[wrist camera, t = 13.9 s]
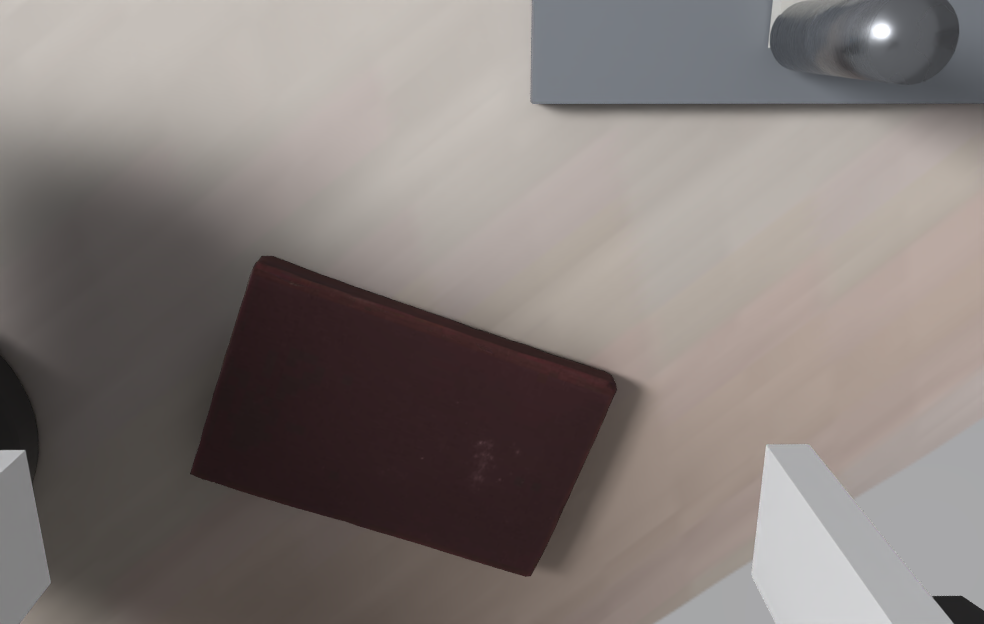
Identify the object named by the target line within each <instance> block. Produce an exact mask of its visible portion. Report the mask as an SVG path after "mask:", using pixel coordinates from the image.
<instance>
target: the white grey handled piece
mask: <svg viewBox="0 0 984 624" xmlns="http://www.w3.org/2000/svg"><path fill="white" fill-rule="evenodd" d="M958 39H959V22H958V18H957V14H956V12H955V10H954V8H953V7H952V5H951V4H950V3H949V2H948V1H947V0H773V5H772V14H771V23H770V33H769V42H768V48H771V51H772V54H773V56H774V58H775V59H776V61H777V62H778V63H779V64H780V65H782V66H783V67H784V68H786V69H789V70H792V71H797V72H805V73H813V74H821V75H829V76H837V77H845V78H853V79H861V80H869V81H877V82H885V83H893V84H901V85H913V84H918V83H921V82H924V81H926V80H928V79H930V78H932V77H934V76H935V75H936V74H938V73H939V72H940V71H941V70H942V69H943V68H944V67H945V66H946V65H947V63H948V62H949V61H950V59H951V58H952V56H953V54H954V52H955V49H956V46H957V43H958Z"/></svg>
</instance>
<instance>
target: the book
mask: <svg viewBox="0 0 984 624" xmlns="http://www.w3.org/2000/svg"><path fill="white" fill-rule="evenodd" d="M616 391H617V388H616V383H615V381H614V379H613V377H612V375H610V374H608V373H607V372H605V371H601V370H598V369H594V368H591V367H588V366H585V365H583V364H580V363H577V362H574V361H571V360H567V359H564V358H561V357H557V356H554V355H551V354H548V353H545V352H543V351H540V350H538V349H535V348H532V347H530V346H527V345H524V344H521V343H518V342H514V341H510V340H508V339H505V338H502V337H499V336H496V335H493V334H490V333H487V332H484V331H481V330H477V329H473V328H470V327H468V326H466V325H464V324H461V323H458V322H456V321H453V320H450V319H447V318H444V317H441V316H438V315H435V314H432V313H429V312H426V311H423V310H421V309H418V308H415V307H412V306H410V305H407V304H404V303H401V302H398V301H394V300H392V299H389V298H386V297H383V296H380V295H377V294H374V293H371V292H369V291H366V290H363V289H360V288H357V287H354V286H351V285H349V284H346V283H344V282H341V281H338V280H335V279H332V278H329V277H327V276H324V275H321V274H318V273H315V272H313V271H310V270H308V269H305V268H303V267H300V266H297V265H295V264H292V263H289V262H287V261H284V260H281V259H279V258H276V257H274V256H262V257H261V258H260V259H259V261H258V262H256V263H255V265H254V267H253V269H252V272H251V275H250V277H249V281H248V284H247V288H246V291H245V295H244V298H243V301H242V304H241V307H240V310H239V313H238V316H237V320H236V323H235V326H234V329H233V333H232V336H231V339H230V343H229V346H228V349H227V351H226V354H225V358H224V361H223V365H222V369H221V372H220V376H219V379H218V382H217V385H216V388H215V391H214V394H213V398H212V402H211V406H210V410H209V413H208V416H207V419H206V423H205V426H204V429H203V433H202V437H201V441H200V445H199V448H198V451H197V454H196V457H195V459H194V463H193V466H192V470H191V473H190V474H191V475H194V476H196V477H199V478H201V479H204V480H208V481H211V482H215V483H218V484H221V485H224V486H227V487H230V488H233V489H236V490H239V491H242V492H245V493H248V494H252V495H255V496H258V497H262V498H265V499H268V500H272V501H275V502H278V503H282V504H285V505H288V506H292V507H295V508H298V509H302V510H306V511H309V512H313V513H317V514H320V515H323V516H327V517H331V518H335V519H338V520H342V521H346V522H349V523H352V524H354V525H357V526H360V527H364V528H367V529H370V530H374V531H377V532H381V533H384V534H387V535H391V536H394V537H397V538H401V539H404V540H408V541H411V542H415V543H418V544H421V545H425V546H428V547H431V548H434V549H437V550H440V551H443V552H447V553H450V554H453V555H456V556H460V557H463V558H466V559H469V560H472V561H476V562H479V563H482V564H485V565H489V566H492V567H495V568H498V569H502V570H505V571H508V572H512V573H515V574H519V575H522V576H525V577H526V576H531V575H532V573H533V571H534V569H535V567H536V565H537V563H538V562H539V560H540V558H541V556H542V554H543V552H544V550H545V548H546V546H547V544H548V542H549V539H550V537H551V535H552V533H553V531H554V529H555V527H556V525H557V522H558V520H559V518H560V515H561V513H562V511H563V508H564V506H565V504H566V502H567V500H568V498H569V496H570V493H571V491H572V489H573V486H574V484H575V482H576V480H577V478H578V476H579V473H580V471H581V469H582V467H583V465H584V462H585V460H586V458H587V456H588V453H589V451H590V449H591V447H592V445H593V443H594V441H595V438H596V436H597V434H598V431H599V429H600V426H601V424H602V422H603V420H604V418H605V416H606V413H607V411H608V408H609V406H610V404H611V401H612V399H613V397H614V395H615V393H616Z"/></svg>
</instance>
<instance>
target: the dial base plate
mask: <svg viewBox="0 0 984 624" xmlns="http://www.w3.org/2000/svg"><path fill="white" fill-rule="evenodd" d="M947 1H948V2H949V3H950V4H951V5H952V7H953V8H954V10H955V12H956V14H957V18H958V22H959V39H958V43H957V46H956V49H955V52H954V54H953V56H952V58H951V59H950V61H949V62H948V63H947V65H946V66H945V67H944V68H943V69H942V70H941V71H940V72H939V73H938V74H936V75H935V76H934V77H932V78H930V79H928V80H926V81H924V82H921V83H918V84H913V85H901V84H893V83H885V82H877V81H869V80H861V79H853V78H845V77H837V76H829V75H821V74H813V73H805V72H797V71H792V70H789V69H786V68H784V67H783V66H782V65H780V64H779V63H778V62H777V61H776V59H775V58H774V56H773V54H772V51H771V48H768V42H769V33H770V23H771V14H772V5H773V0H532V34H531V103H532V104H952V103H984V0H947Z"/></svg>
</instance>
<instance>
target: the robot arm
mask: <svg viewBox="0 0 984 624" xmlns="http://www.w3.org/2000/svg"><path fill="white" fill-rule="evenodd" d="M37 459H38V433H37V426H36V422H35V417H34V414H33V410H32V407H31V405H30V402H29V399H28V397H27V395H26V393H25V391H24V389H23V387H22V385H21V383H20V382H19V380H18V378H17V377H16V375H15V374H14V372H13V371H12V369H11V368H10V367H9V365H8V364H7V363H6V361H5V360H4V359H3V358H2V357H1V356H0V624H20V622H21V621H22V620H23V618H24V617H25V616H26V615H27V613H28V612H29V611H30V609H31V608H32V607H33V605H34V604H35V603H36V602H37V600H38V599H39V598H40V596H41V595H42V594H43V592H44V591H45V590H46V589H47V587H48V586H49V585H50V583H51V580H50V575H49V570H48V565H47V559H46V554H45V549H44V544H43V539H42V534H41V528H40V523H39V518H38V513H37V508H36V502H35V497H34V492H33V487H32V480H33V477H34V474H35V470H36V465H37ZM751 576H752V578H753V580H754V582H755V584H756V586H757V588H758V590H759V592H760V594H761V596H762V598H763V600H764V601H765V604H766V606H767V607H768V609H769V612H770V614H771V615H772V618H773V620H774V621H775V623H776V624H984V611H983V610H982V609H980V608H979V607H977V606H976V605H974V604H973V603H972V602H970V601H969V600H967V599H966V598H964V597H963V596H931V595H930V594H929V593H928V591H927V590H926V589H925V588H924V586H923V585H922V584H921V583H920V581H919V580H918V579H917V578H916V576H915V575H914V574H913V573H912V572H911V570H910V569H909V568H908V566H907V565H906V564H905V563H904V561H903V560H902V559H901V558H900V557H899V555H898V554H897V553H896V552H895V550H894V549H893V548H892V547H891V546H890V544H889V543H888V542H887V540H886V539H885V538H884V537H883V535H882V534H881V533H880V532H879V530H878V529H877V528H876V527H875V525H874V524H873V523H872V522H871V521H870V519H869V518H868V517H867V516H866V514H865V513H864V512H863V511H862V509H861V508H860V507H859V506H858V504H857V503H856V502H855V501H854V499H853V498H852V497H851V496H850V494H849V493H848V492H847V491H846V489H845V488H844V487H843V486H842V485H841V483H840V482H839V481H838V480H837V478H836V477H835V476H834V475H833V473H832V472H831V471H830V470H829V468H828V467H827V466H826V465H825V463H824V462H823V461H822V460H821V458H820V457H819V456H818V455H817V454H816V452H815V451H814V450H813V449H812V447H811V446H810V445H809V444H766V451H765V460H764V469H763V477H762V486H761V495H760V504H759V512H758V521H757V530H756V538H755V547H754V556H753V565H752V574H751Z"/></svg>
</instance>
